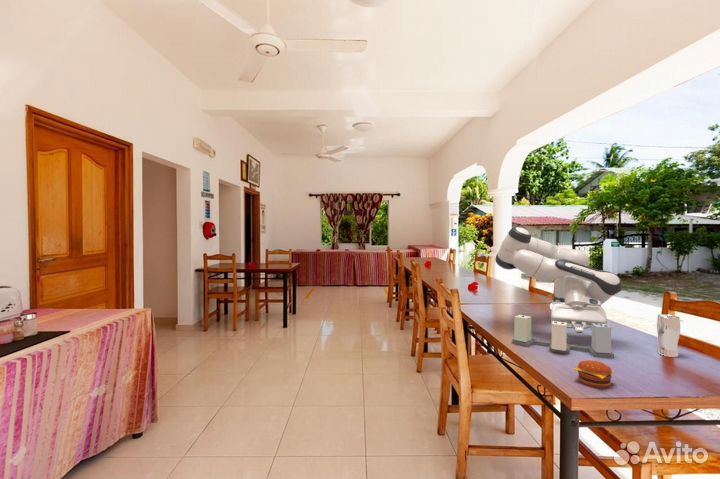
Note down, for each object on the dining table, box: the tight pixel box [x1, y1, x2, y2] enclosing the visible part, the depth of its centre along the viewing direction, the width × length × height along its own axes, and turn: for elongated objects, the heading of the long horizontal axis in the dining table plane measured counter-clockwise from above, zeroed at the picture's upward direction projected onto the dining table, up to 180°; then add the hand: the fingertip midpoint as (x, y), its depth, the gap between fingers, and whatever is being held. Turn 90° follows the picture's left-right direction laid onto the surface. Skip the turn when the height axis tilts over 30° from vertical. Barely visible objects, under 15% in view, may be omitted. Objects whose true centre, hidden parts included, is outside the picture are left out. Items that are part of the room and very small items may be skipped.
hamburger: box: [573, 359, 616, 389], centre depth 117 cm, size 9×10×7 cm
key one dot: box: [513, 314, 532, 342], centre depth 156 cm, size 5×5×10 cm
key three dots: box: [591, 323, 612, 353], centre depth 141 cm, size 5×5×10 cm
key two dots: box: [551, 321, 568, 351], centre depth 145 cm, size 5×5×10 cm
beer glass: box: [656, 313, 681, 358], centre depth 141 cm, size 7×7×15 cm
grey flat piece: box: [511, 337, 615, 359], centre depth 150 cm, size 12×36×2 cm, turn 57°
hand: (579, 332), depth 148 cm, fingers closed
